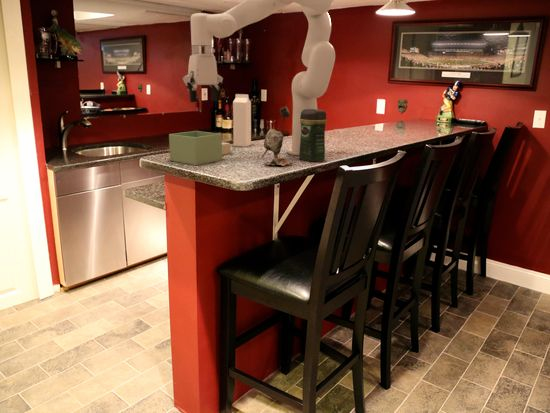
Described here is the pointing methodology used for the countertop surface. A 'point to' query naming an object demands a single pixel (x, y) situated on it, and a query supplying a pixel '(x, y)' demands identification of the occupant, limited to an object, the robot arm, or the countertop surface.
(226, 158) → the countertop surface
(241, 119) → the milk
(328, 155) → the countertop surface
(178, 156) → the bin
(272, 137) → the plant with pod
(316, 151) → the coffee jar
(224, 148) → the beige grey block
